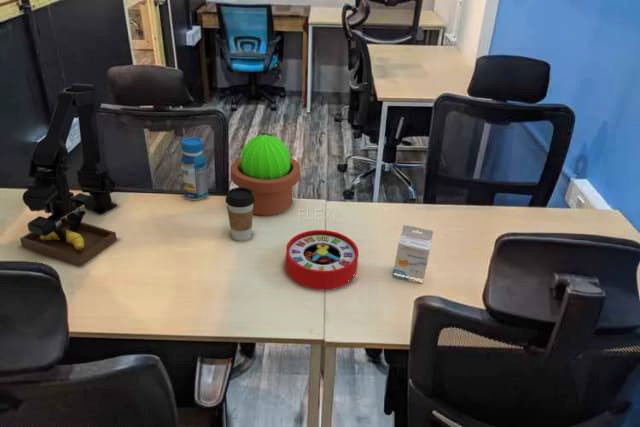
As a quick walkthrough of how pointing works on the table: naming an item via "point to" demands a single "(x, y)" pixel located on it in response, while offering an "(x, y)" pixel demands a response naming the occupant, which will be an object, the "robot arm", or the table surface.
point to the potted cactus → (266, 174)
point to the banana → (70, 238)
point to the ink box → (413, 253)
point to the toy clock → (321, 259)
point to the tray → (93, 244)
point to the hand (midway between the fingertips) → (69, 238)
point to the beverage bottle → (194, 169)
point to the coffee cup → (240, 212)
